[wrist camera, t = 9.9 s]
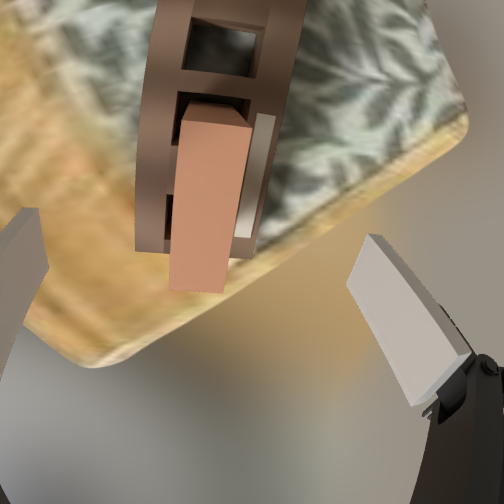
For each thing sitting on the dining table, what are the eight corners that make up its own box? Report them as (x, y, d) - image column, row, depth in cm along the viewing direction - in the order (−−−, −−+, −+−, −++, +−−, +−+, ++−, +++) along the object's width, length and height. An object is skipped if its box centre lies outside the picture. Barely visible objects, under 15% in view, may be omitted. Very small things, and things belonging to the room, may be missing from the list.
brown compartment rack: (185, -65, 12) (183, -85, 9) (304, -45, 14) (321, -61, 11) (141, 228, 25) (134, 252, 22) (245, 236, 27) (252, 260, 24)
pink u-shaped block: (190, 100, 20) (181, 120, 12) (231, 104, 20) (252, 128, 12) (177, 210, 24) (168, 290, 16) (213, 213, 25) (223, 293, 17)
